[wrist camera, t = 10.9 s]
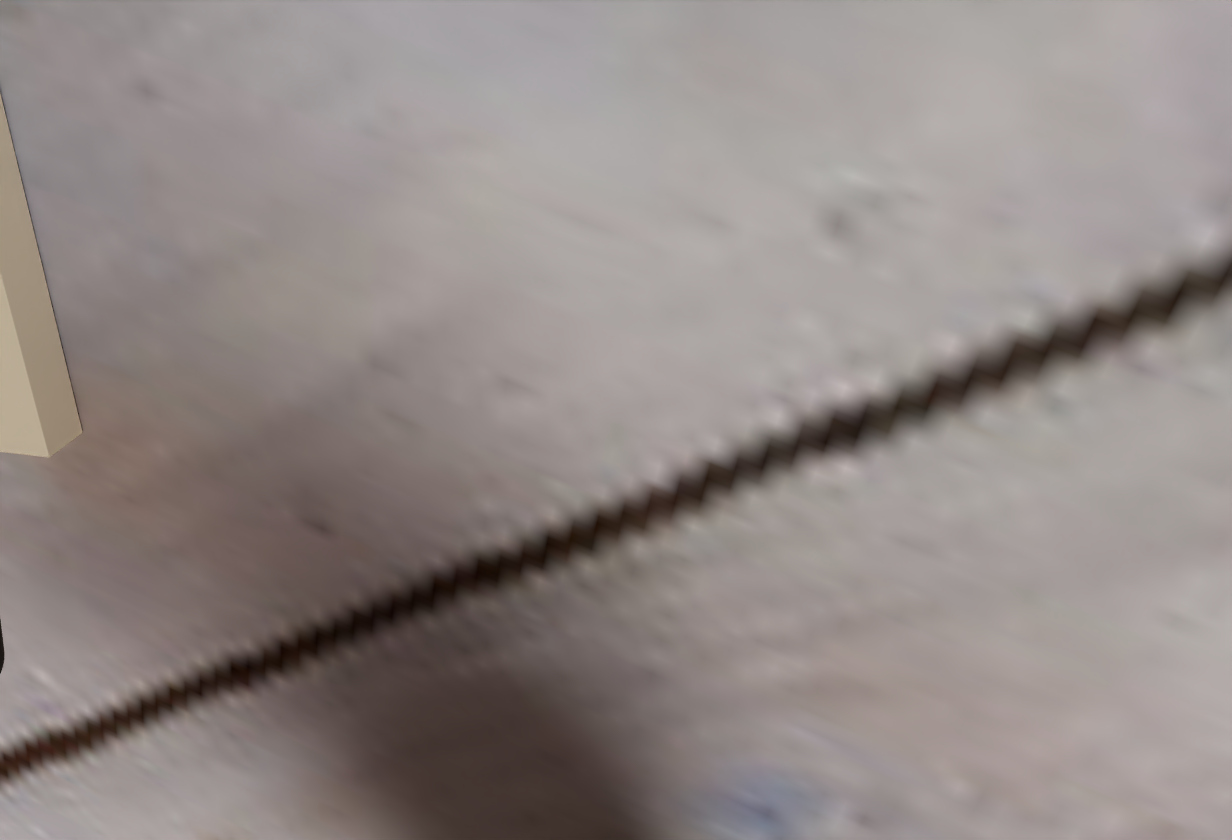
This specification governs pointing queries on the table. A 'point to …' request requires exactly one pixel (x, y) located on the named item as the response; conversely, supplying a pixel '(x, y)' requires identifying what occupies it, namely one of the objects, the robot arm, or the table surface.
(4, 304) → the tray
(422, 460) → the table surface
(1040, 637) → the table surface
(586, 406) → the table surface
